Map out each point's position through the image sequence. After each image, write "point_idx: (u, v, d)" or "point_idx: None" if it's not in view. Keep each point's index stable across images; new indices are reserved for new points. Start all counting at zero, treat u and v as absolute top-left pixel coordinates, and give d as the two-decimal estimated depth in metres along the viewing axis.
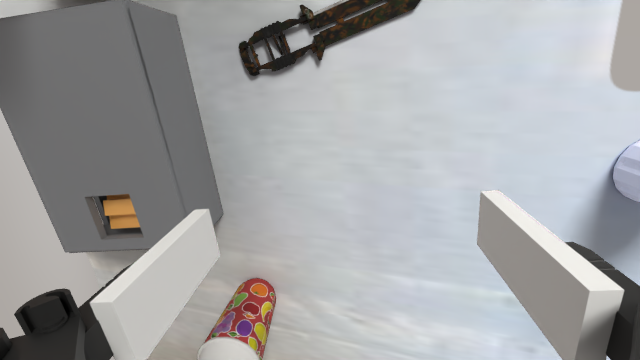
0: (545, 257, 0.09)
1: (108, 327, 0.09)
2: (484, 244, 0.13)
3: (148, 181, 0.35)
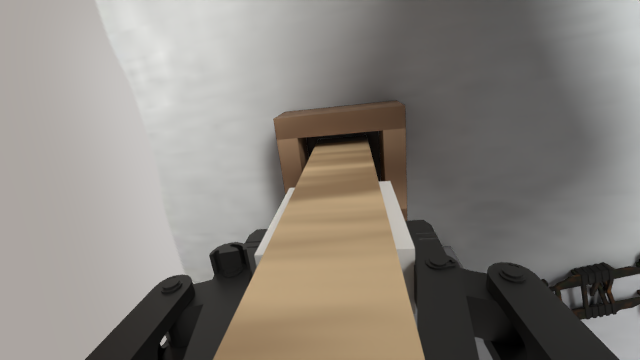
0: None
1: None
2: None
3: None
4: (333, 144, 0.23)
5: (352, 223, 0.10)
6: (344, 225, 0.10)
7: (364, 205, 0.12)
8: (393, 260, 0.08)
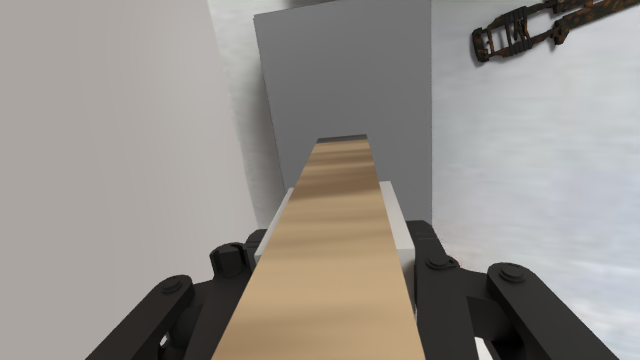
0: None
1: None
2: None
3: (405, 169, 0.36)
4: (333, 143, 0.23)
5: (352, 222, 0.10)
6: (343, 224, 0.10)
7: (364, 204, 0.12)
8: (393, 259, 0.08)
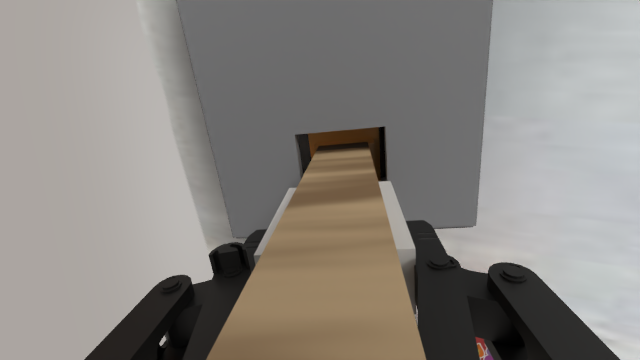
0: None
1: None
2: None
3: (434, 100, 0.19)
4: (333, 151, 0.22)
5: (352, 230, 0.10)
6: (343, 232, 0.10)
7: (365, 211, 0.11)
8: (395, 270, 0.08)
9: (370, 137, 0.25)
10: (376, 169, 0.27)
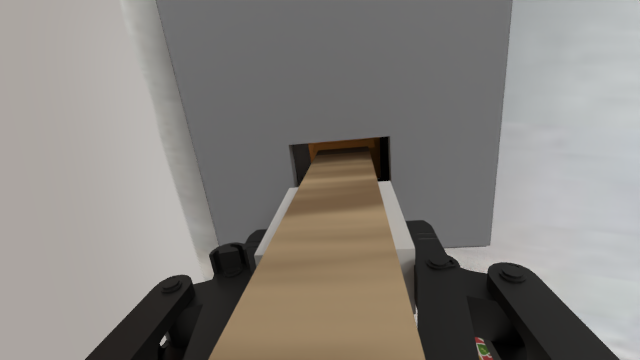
0: None
1: None
2: None
3: (444, 106, 0.16)
4: (333, 155, 0.22)
5: (353, 241, 0.09)
6: (343, 244, 0.09)
7: (365, 221, 0.11)
8: (399, 287, 0.07)
9: (370, 138, 0.25)
10: (376, 168, 0.26)
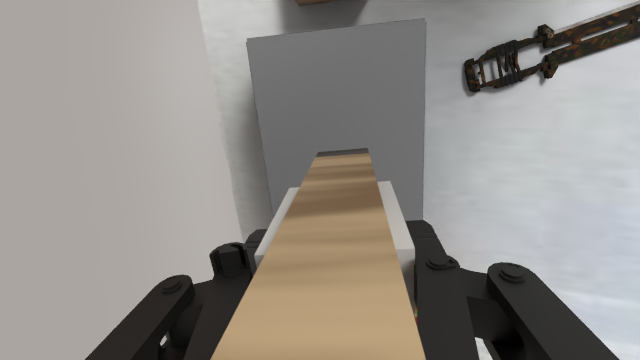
0: None
1: None
2: None
3: None
4: (333, 157, 0.22)
5: (353, 244, 0.09)
6: (344, 246, 0.09)
7: (366, 223, 0.11)
8: (400, 290, 0.07)
9: None
10: None
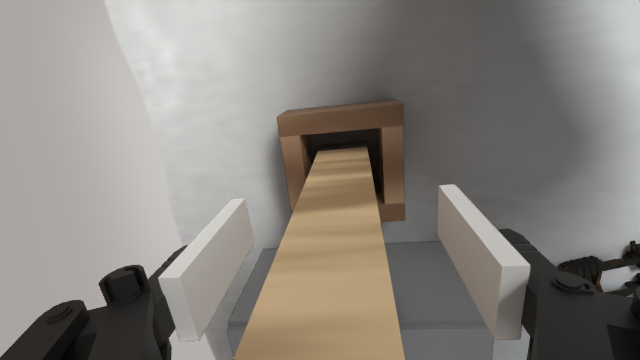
0: (477, 241, 0.10)
1: (173, 301, 0.10)
2: (442, 234, 0.15)
3: None
4: (334, 151, 0.24)
5: (350, 236, 0.12)
6: (342, 237, 0.12)
7: (361, 217, 0.13)
8: (384, 272, 0.09)
9: None
10: None
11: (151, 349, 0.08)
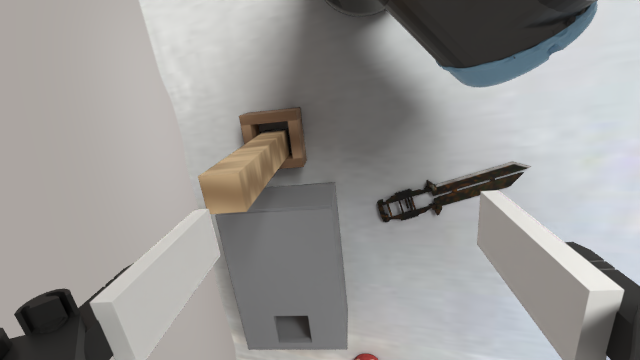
0: (545, 257, 0.09)
1: (108, 327, 0.09)
2: (484, 244, 0.13)
3: (324, 308, 0.50)
4: (269, 132, 0.48)
5: (253, 151, 0.36)
6: (250, 151, 0.36)
7: (260, 148, 0.38)
8: (256, 155, 0.34)
9: None
10: None
11: None
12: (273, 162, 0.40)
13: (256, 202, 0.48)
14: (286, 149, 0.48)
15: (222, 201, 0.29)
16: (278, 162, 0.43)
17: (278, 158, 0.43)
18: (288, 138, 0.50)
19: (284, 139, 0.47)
